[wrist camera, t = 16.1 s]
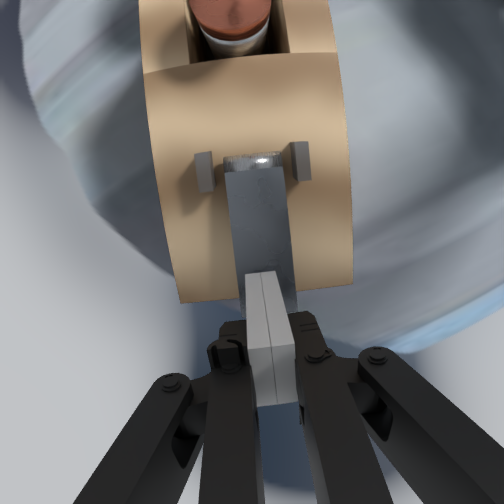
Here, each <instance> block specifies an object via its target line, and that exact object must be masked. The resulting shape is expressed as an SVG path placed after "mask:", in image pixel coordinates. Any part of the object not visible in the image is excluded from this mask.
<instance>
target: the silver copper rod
mask: <svg viewBox="0 0 504 504" xmlns="http://www.w3.org/2000/svg"><path fill="white" fill-rule="evenodd" d="M189 4H190V6H191V9H192V11H193V13H194V15H195V17H196V19H197V21H198V23H199V25H200V28H201V30H202V32H203V34H204V36H205V38H206V41H207V43H208V45H209V47H210V49H211V51H212V54H213V56H214V58H215V60H220V59H227V58H236V57H245V56H255V55H264V49H265V42H266V35H267V28H268V21H269V14H270V6H271V0H189Z"/></svg>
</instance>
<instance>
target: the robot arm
mask: <svg viewBox="0 0 504 504" xmlns="http://www.w3.org/2000/svg"><path fill="white" fill-rule="evenodd" d="M260 274H261V276H260ZM245 288H246V318H247V320H239V321H229V322H225V323H224V324H223V325H222V326H221V328H220V331H219V340H216V341H214V342H213V343H211V344H210V345H209V346H208V348H207V353H208V358H209V362H210V366H211V372H210V373H209V374H207V375H206V376H203V377H201V378H198V379H194V380H189V378H188V377H187V376H186V375H184V374H180V373H171V374H167V375H163V376H162V377H160V378H158V379H157V380H156V381H155V382H154V383H153V385H152V386H151V388H150V389H149V391H148V392H147V394H146V395H145V397H144V398H143V400H142V401H141V403H140V404H139V405H138V407H137V408H136V410H135V411H134V413H133V414H132V416H131V417H130V419H129V420H128V422H127V423H126V425H125V426H124V428H123V429H122V431H121V432H120V434H119V435H118V437H117V438H116V440H115V441H114V443H113V444H112V446H111V447H110V449H109V450H108V452H107V453H106V455H105V456H104V458H103V459H102V461H101V462H100V464H99V465H98V467H97V468H96V470H95V471H94V473H93V474H92V476H91V477H90V479H89V480H88V482H87V483H86V485H85V486H84V488H83V489H82V491H81V492H80V494H79V495H78V497H77V498H76V500H75V501H74V503H73V504H177V503H178V501H179V498H180V496H181V494H182V492H183V489H184V487H185V485H186V483H187V480H188V478H189V475H190V473H191V471H192V469H193V466H194V464H195V461H196V459H197V457H198V454H199V452H200V450H201V448H202V445H203V443H204V445H203V457H202V468H201V479H200V490H199V503H198V504H265V497H264V484H263V471H262V457H261V444H260V431H259V418H258V412H257V407H259V406H267V405H276V404H277V403H278V404H284V403H291V402H297V401H298V400H299V411H300V424H302V426H303V432H304V437H305V442H306V447H307V452H308V457H309V462H310V467H311V472H312V477H313V483H314V488H315V493H316V498H317V504H393V501H392V498H391V495H390V492H389V490H388V487H387V484H386V482H385V479H384V476H383V473H382V471H381V468H380V465H379V463H378V460H377V457H376V455H375V452H374V450H373V447H372V444H371V442H370V439H369V437H368V434H369V435H370V437H371V438H372V439H373V440H374V442H375V443H376V444H377V446H378V447H379V448H380V449H381V451H382V452H383V453H384V454H385V456H386V457H387V458H388V459H389V461H390V462H391V463H392V465H393V466H394V467H395V468H396V470H397V471H398V472H399V473H400V475H401V476H402V477H403V478H404V480H405V481H406V482H407V483H408V485H409V486H410V487H411V488H412V490H413V491H414V492H415V493H416V494H417V496H418V497H419V498H420V499H421V501H422V502H423V503H424V504H504V448H503V447H502V446H500V445H499V444H498V443H497V442H496V441H495V440H494V439H493V438H492V437H491V436H489V435H488V434H487V433H486V432H485V431H484V430H483V429H482V428H480V427H479V426H478V425H477V424H476V423H475V422H474V421H473V420H471V419H470V418H469V417H468V416H467V415H466V414H465V413H463V412H462V411H461V410H460V409H459V408H458V407H457V406H455V405H454V404H453V403H452V402H451V401H450V400H449V399H447V398H446V397H445V396H444V395H443V394H442V393H441V392H439V391H438V390H437V389H436V388H435V387H434V386H433V385H431V384H430V383H429V382H428V381H427V380H426V379H424V378H423V377H422V376H421V375H420V374H419V373H418V372H416V371H415V370H414V369H413V368H412V367H410V366H409V365H408V364H407V363H406V362H405V361H404V360H402V359H401V358H400V357H399V356H398V355H397V354H395V353H394V352H393V351H391V350H390V349H388V348H384V347H370V348H367V349H365V350H363V351H362V352H361V353H360V354H359V358H342V357H338V356H336V355H335V353H334V352H333V351H332V349H330V348H328V347H327V345H326V343H325V341H324V338H323V336H322V333H321V331H320V329H319V326H318V324H317V321H316V319H315V316H314V315H312V314H311V313H309V312H308V311H303V312H296V313H289V314H287V312H286V309H285V305H284V301H283V297H282V294H281V290H280V286H279V283H278V279H277V275H276V272H275V271H268V272H260V273H252V274H245ZM276 396H277V398H276ZM367 433H368V434H367Z"/></svg>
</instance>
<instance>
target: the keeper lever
mask: <svg viewBox="0 0 504 504" xmlns="http://www.w3.org/2000/svg"><path fill="white" fill-rule="evenodd" d="M223 165H224V173H225V182H226V191H227V199H228V208H229V217H230V225H231V233H232V242H233V250H234V258H235V266H236V274H237V282H238V290H239V298H240V306H241V314H242V318H244V317H246V288H245V274H252V273H260V272H268V271H275V272H276V275H277V279H278V283H279V286H280V290H281V294H282V297H283V301H284V305H285V309H286V312H287V313H289V312H297V311H298V309H297V298H296V286H295V275H294V264H293V254H292V244H291V234H290V225H289V216H288V207H287V198H286V189H285V181H284V173H283V163H282V156H281V151H271V152H261V153H252V154H243V155H235V156H227V157H223ZM260 276H261V274H260Z"/></svg>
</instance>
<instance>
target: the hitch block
mask: <svg viewBox="0 0 504 504" xmlns="http://www.w3.org/2000/svg"><path fill="white" fill-rule="evenodd" d="M139 20H140V38H141V53H142V66H143V77H144V88H145V97H146V107H147V115H148V124H149V132H150V139H151V147H152V154H153V161H154V167H155V174H156V180H157V186H158V193H159V198H160V204H161V210H162V216H163V221H164V226H165V232H166V237H167V242H168V247H169V252H170V257H171V262H172V267H173V271H174V276H175V280H176V285H177V289H178V294H179V298H180V303H192V302H203V301H214V300H224V299H234V298H239V290H238V282H237V274H236V266H235V258H234V250H233V242H232V233H231V225H230V217H229V208H228V199H227V191H226V182H225V173H224V165H223V157H227V156H235V155H243V154H252V153H261V152H271V151H281V156H282V163H283V173H284V181H285V189H286V198H287V207H288V216H289V225H290V234H291V244H292V254H293V264H294V275H295V286H296V291H304V290H312V289H320V288H327V287H335V286H342V285H349V284H353V230H352V198H351V178H350V163H349V149H348V137H347V126H346V116H345V107H344V98H343V90H342V82H341V75H340V68H339V61H338V55H337V48H336V42H335V36H334V31H333V25H332V20H331V15H330V10H329V5H328V0H271V6H270V14H269V21H268V28H267V35H266V42H265V49H264V55H255V56H245V57H236V58H227V59H220V60H215V58H214V56H213V54H212V51H211V49H210V47H209V45H208V43H207V41H206V38H205V36H204V34H203V32H202V30H201V28H200V25H199V23H198V21H197V19H196V17H195V15H194V13H193V11H192V9H191V6H190V4H189V0H139Z"/></svg>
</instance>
